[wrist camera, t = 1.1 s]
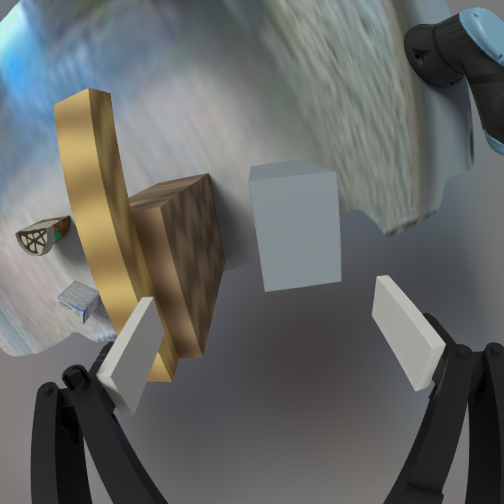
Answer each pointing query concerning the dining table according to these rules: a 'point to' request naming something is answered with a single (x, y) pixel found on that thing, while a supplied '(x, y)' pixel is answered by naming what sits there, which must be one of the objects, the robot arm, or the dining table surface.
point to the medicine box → (78, 301)
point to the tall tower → (181, 256)
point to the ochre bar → (106, 214)
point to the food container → (43, 235)
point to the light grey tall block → (296, 224)
